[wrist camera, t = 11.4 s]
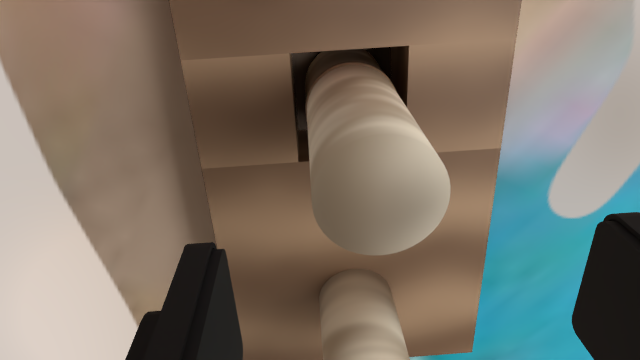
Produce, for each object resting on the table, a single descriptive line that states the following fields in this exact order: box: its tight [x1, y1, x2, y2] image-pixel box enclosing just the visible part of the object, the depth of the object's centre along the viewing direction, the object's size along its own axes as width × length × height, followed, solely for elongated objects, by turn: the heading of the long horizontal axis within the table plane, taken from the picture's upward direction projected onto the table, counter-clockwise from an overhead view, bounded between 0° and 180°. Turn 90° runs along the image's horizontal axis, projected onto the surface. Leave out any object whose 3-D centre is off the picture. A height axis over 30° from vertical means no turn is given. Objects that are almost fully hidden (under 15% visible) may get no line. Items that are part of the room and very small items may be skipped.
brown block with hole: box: [169, 0, 522, 360], centre depth 21 cm, size 22×14×12 cm, turn 3°
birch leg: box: [305, 49, 450, 255], centre depth 18 cm, size 4×4×12 cm
